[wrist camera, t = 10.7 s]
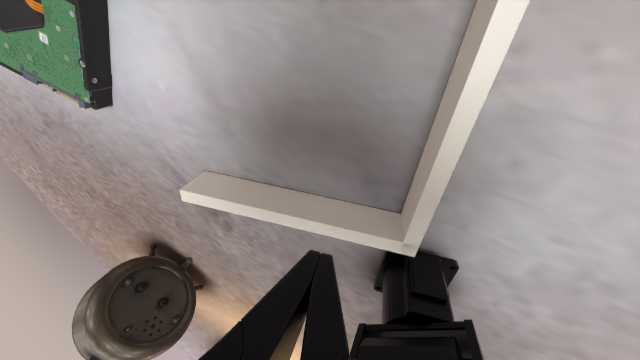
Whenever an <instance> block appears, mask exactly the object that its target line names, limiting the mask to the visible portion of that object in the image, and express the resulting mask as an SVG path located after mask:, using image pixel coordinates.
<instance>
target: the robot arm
mask: <svg viewBox="0 0 640 360" xmlns="http://www.w3.org/2000/svg"><path fill="white" fill-rule="evenodd" d="M458 269H459V266H458V263H457V262H456V261H453V260H448V259H444V258H440V257H436V256H432V255H428V254H423V253H419V252H417V253H416V255H415V257H411V256H407V255H403V254H399V253H395V252H391V251H387V250H386V251H385V254H384V257H383V260H382V263H381V265H380V268H379V271H378V274H377V277H376V280H375V283H374V289H375V290H376V291H379V292H383V299H382V324H366V323H361V324H359V326H358V329H357V332H356V335H355V339H354V342H353V345H352V349H351V352H350V355H349V348H348V342H347V336H346V331H345V325H344V319H343V313H342V308H341V302H340V296H339V291H338V285H337V279H336V273H335V268H334V262H333V257H332V255H329V254H326V253H320V252H318V251H314V250H310V251H308V252H307V253H306V254H305V255H304V256H303V257H302V258H301V260H300V261H299V262H298V263H297V264H296V265H295V266H294V267H293V268H292V269H291V270H290V271H289V272H288V273H287V274H286V275H285V276H284V277H283V278H282V279H281V280H280V281H279V282H278V283H277V284H276V285H275V286H274V287H273V288H272V289H271V290H270V291H269V292H268V293H267V294H266V295H265V296H264V297H263V298H262V299H261V300H260V301H259V302H258V303H257V304H256V305H255V306H254V307H253V308H252V309H251V310H250V311H249V312H248V313H247V314H246V315H245V316H244V317H243V318H242V319H241V321H239V322H238V323H237V324H236V325H235V326H234V327H233V328H232V329H231V330H230V331H229V332H228V333H227V334H226V335H225V336H224V337H223V338H222V339H221V340H220V341H219V342H218V343H217V344H215V345H214V346H213V347H212V348H211V349H210V350H209V351H207V352H206V353H205V354H204V355H203V356H202V357H201V358H199V359H198V360H290V357H291V355H292V352H293V349H294V347H295V344H296V342H297V339H298V336H299V334H300V331H301V329H302V326H303V324H304V321H305V318H306V324H305V331H304V337H303V344H302V351H301V358H300V360H484V357H483V353H482V350H481V347H480V344H479V341H478V338H477V334H476V331H475V328H474V325H473V322H472V320H464V321H458V322H454V317H453V313H452V308H451V304H450V300H449V294H448V290H447V287H448V286H449V284H450V282H451V281H452V279H453V277H454V276H455V274H456V273H457V271H458ZM306 315H307V317H306Z"/></svg>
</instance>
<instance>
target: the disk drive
mask: <svg viewBox="0 0 640 360" xmlns="http://www.w3.org/2000/svg"><path fill="white" fill-rule="evenodd" d="M0 65H2V66H3V67H6V68H7V69H9V70H11V71H13V72H15V73H17V74H19V75H21V76H23V77H24V78H25V79H27V80H29V81H31V82H33V83H35V84H37V85H38V84H39V83H41V84H44V86H45V87H47V88H49V89H51V90H53V92H54V91H56V92H57V94H60V95H62V96H64V97H66V98H68V99H70V100H72V101H74V102H76V103H78V104H79V107H81V108H85V109H87V108H92V109H95V110H98V109H102V108H105V107H108V106H112V105H113V103H112V102H113V101H112V74H111V63H110V44H109V25H108V4H107V0H0Z"/></svg>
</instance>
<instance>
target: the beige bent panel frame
mask: <svg viewBox="0 0 640 360" xmlns="http://www.w3.org/2000/svg"><path fill="white" fill-rule="evenodd" d="M529 1H530V0H477V2H476V4H475V7H474V10H473V13H472V16H471V19H470V21H469V24H468V27H467V30H466V33H465V35H464V38H463V41H462V44H461V47H460V49H459V52H458V55H457V58H456V61H455V64H454V66H453V69H452V72H451V75H450V78H449V80H448V83H447V86H446V89H445V92H444V94H443V97H442V100H441V103H440V106H439V109H438V111H437V114H436V117H435V120H434V123H433V125H432V128H431V131H430V134H429V137H428V139H427V142H426V145H425V148H424V151H423V153H422V156H421V159H420V162H419V165H418V168H417V170H416V173H415V176H414V179H413V182H412V184H411V187H410V190H409V193H408V196H407V198H406V201H405V204H404V207H403V210H402V213H401V214H399V213H395V212H390V211H386V210H381V209H377V208H372V207H368V206H363V205H358V204H354V203H349V202H345V201H340V200H336V199H331V198H327V197H322V196H318V195H313V194H308V193H304V192H299V191H295V190H290V189H286V188H281V187H277V186H272V185H268V184H263V183H259V182H254V181H249V180H245V179H240V178H236V177H231V176H227V175H222V174H218V173H213V172H209V171H203V172H202V173H201V174H199V175H198V176H197V177H195V178H194V179H193V180H192V181H190V182H189V183H188V184H186V185H185V186H184V187H182V188H181V189H180V194H181V198H182V201H185V202H189V203H193V204H198V205H202V206H206V207H210V208H214V209H218V210H222V211H226V212H230V213H235V214H239V215H243V216H247V217H251V218H255V219H259V220H263V221H267V222H272V223H276V224H280V225H284V226H288V227H292V228H296V229H300V230H304V231H309V232H313V233H317V234H321V235H325V236H329V237H333V238H337V239H341V240H346V241H350V242H354V243H358V244H362V245H366V246H370V247H374V248H378V249H383V250H387V251H391V252H395V253H399V254H403V255H407V256H411V257H415V255H416V253H417V251H418V248H419V246H420V244H421V242H422V239H423V237H424V235H425V233H426V231H427V228H428V226H429V224H430V222H431V219H432V217H433V215H434V213H435V210H436V208H437V206H438V204H439V202H440V199H441V197H442V195H443V193H444V190H445V188H446V186H447V184H448V181H449V179H450V177H451V175H452V173H453V170H454V168H455V166H456V164H457V161H458V159H459V157H460V155H461V153H462V150H463V148H464V146H465V144H466V141H467V139H468V137H469V135H470V132H471V130H472V128H473V126H474V124H475V121H476V119H477V117H478V115H479V112H480V110H481V108H482V106H483V104H484V101H485V99H486V97H487V95H488V92H489V90H490V88H491V86H492V83H493V81H494V79H495V77H496V75H497V72H498V70H499V68H500V66H501V63H502V61H503V59H504V57H505V54H506V52H507V50H508V48H509V46H510V43H511V41H512V39H513V37H514V34H515V32H516V30H517V28H518V26H519V23H520V21H521V19H522V17H523V14H524V12H525V10H526V8H527V5H528V3H529Z"/></svg>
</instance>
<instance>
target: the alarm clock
mask: <svg viewBox="0 0 640 360" xmlns="http://www.w3.org/2000/svg"><path fill="white" fill-rule="evenodd" d="M155 248H156V245H155V244H152V245H151V250H150V252H149V256H144V257H139V258H134V259H131V260H128V261H126V262H124V263H122V264H120V265H118V266H116V267H115V268H113V269H112V270H111V271H109V272H108V273H107V274H106V275H104V276H103V277H102V278H101V279H100V280H98V281H97V282H96V283H95V284H94V285H93V286H92V287H91V288H90V289H89V290H88V291H87V293H85V295H84V296H83V298H82V299H81V301H80V302H79V304H78V306H77V309H76V311H75V314H74V318H73V323H72V335H73V341H74V344H75V346H76V348H77V350H78V352H79V353H80V355H81V356H82V357H83V358H84V359H86V360H150V359H152V358H155V357H157V356H159V355H160V354H162V353H164V352H165V351H167V350H168V349H169V348H171V347H172V346H173V345H174V344H175V343H176V342H177V341H178V340H179V339H180V338H181V337H182V336H183V334H184V333H185V331H186V330H187V328H188V326H189V324H190V322H191V320H192V318H193V315H194V311H195V306H196V290H198V289H202V288H203V285H199V286H195V287H194V284H193V281H192V279H191V277H190V275H189V274H188V273H187V271H186V270H185V269H186V268H187V267H188V266H189V265H190V263H191V262H192V259H191V258H188V259H187V260H186V261H185V262H184V263H183V264H182V265H179V264H178V263H176V262H174V261H172V260H170V259H167V258H163V257H157V256H155Z"/></svg>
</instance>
